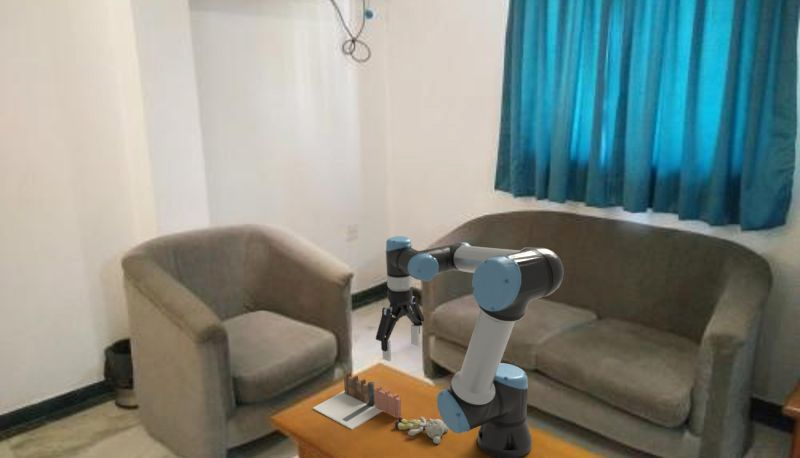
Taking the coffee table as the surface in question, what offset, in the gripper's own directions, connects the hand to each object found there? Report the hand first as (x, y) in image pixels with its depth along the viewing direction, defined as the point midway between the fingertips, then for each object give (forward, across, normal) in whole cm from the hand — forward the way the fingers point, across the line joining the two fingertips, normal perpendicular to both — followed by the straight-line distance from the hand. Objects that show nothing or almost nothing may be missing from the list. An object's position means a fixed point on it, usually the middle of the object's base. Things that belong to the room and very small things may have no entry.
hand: (401, 352), depth 184 cm
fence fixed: (+18, +6, -13) cm, 23 cm away
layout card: (+18, +11, -12) cm, 24 cm away
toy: (+19, +8, +13) cm, 25 cm away
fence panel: (+18, +6, -1) cm, 19 cm away
